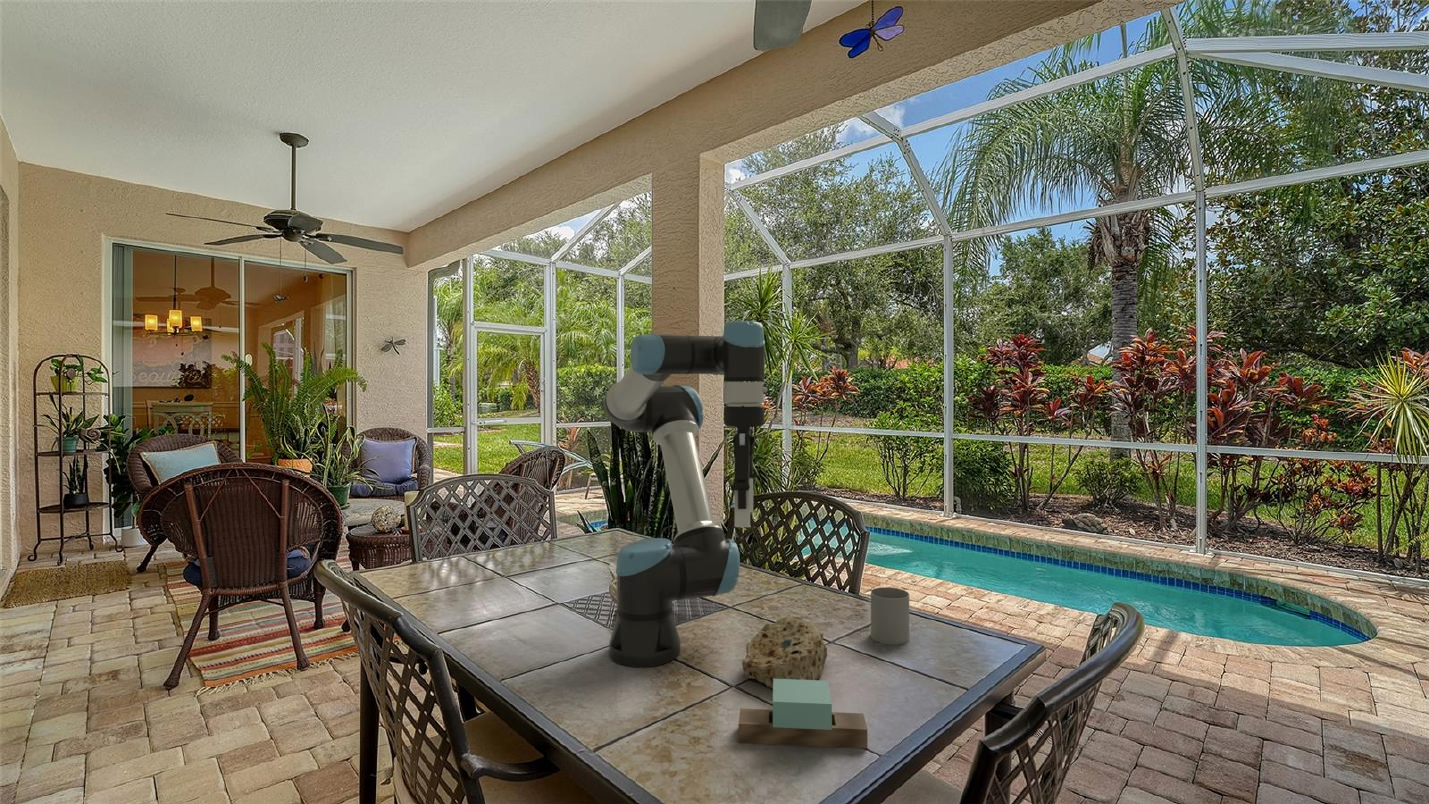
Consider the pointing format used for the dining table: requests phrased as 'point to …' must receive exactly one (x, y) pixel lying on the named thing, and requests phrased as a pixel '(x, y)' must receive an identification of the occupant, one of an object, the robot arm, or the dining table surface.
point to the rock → (785, 652)
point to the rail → (803, 731)
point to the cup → (890, 615)
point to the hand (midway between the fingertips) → (744, 519)
